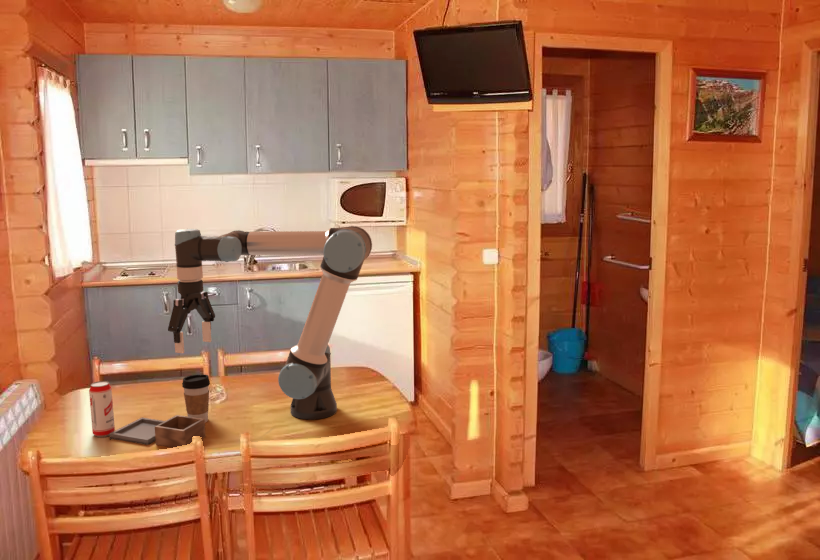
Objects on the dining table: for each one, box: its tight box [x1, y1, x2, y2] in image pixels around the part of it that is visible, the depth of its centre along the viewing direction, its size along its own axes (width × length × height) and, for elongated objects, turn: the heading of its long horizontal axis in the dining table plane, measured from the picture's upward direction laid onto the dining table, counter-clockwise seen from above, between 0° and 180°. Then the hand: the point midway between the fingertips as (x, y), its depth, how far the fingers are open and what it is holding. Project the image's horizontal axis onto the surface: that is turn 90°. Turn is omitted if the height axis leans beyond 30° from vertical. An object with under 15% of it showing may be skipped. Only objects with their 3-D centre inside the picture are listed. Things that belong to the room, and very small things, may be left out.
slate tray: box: [108, 417, 165, 446], centre depth 220 cm, size 14×14×2 cm
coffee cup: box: [181, 374, 211, 423], centre depth 229 cm, size 8×8×15 cm
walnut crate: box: [155, 414, 206, 448], centre depth 214 cm, size 10×10×6 cm
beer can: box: [88, 380, 116, 438], centre depth 220 cm, size 6×6×16 cm
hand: (193, 347), depth 226 cm, fingers open, 13 cm apart
